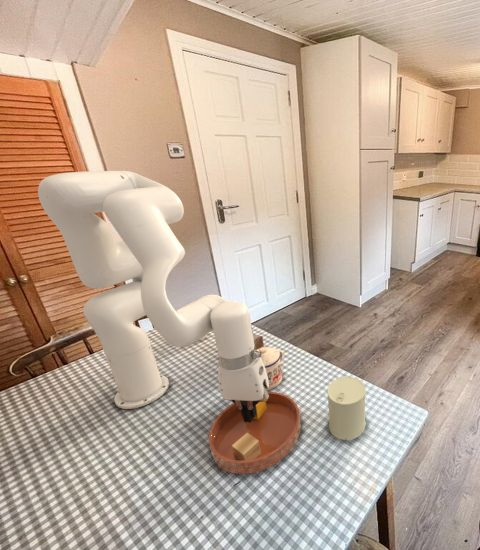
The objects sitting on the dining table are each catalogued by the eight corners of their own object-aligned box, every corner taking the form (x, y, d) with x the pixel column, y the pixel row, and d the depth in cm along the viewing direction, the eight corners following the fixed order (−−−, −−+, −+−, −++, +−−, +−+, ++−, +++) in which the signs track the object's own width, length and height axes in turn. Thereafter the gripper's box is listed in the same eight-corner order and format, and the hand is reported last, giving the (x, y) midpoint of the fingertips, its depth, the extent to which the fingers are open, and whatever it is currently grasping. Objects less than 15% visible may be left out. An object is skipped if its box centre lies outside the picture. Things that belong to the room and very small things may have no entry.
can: (322, 434, 73) (319, 396, 69) (339, 407, 81) (337, 371, 77) (356, 447, 70) (356, 407, 66) (371, 417, 78) (371, 380, 74)
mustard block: (253, 406, 81) (251, 393, 80) (266, 408, 80) (264, 396, 79) (244, 417, 77) (242, 404, 76) (258, 420, 76) (256, 407, 75)
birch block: (234, 458, 67) (231, 445, 65) (249, 445, 70) (247, 432, 69) (246, 468, 65) (243, 454, 63) (261, 453, 68) (258, 440, 67)
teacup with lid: (268, 396, 85) (264, 362, 81) (244, 386, 89) (238, 353, 84) (295, 370, 95) (292, 339, 91) (272, 362, 99) (268, 332, 94)
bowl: (201, 431, 74) (198, 419, 73) (278, 392, 86) (276, 381, 85) (229, 496, 60) (226, 483, 59) (316, 438, 72) (315, 426, 71)
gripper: (276, 347, 71) (284, 407, 77) (214, 344, 72) (228, 404, 78) (264, 367, 64) (274, 432, 70) (196, 365, 65) (212, 429, 71)
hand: (250, 417), depth 74 cm, fingers closed
